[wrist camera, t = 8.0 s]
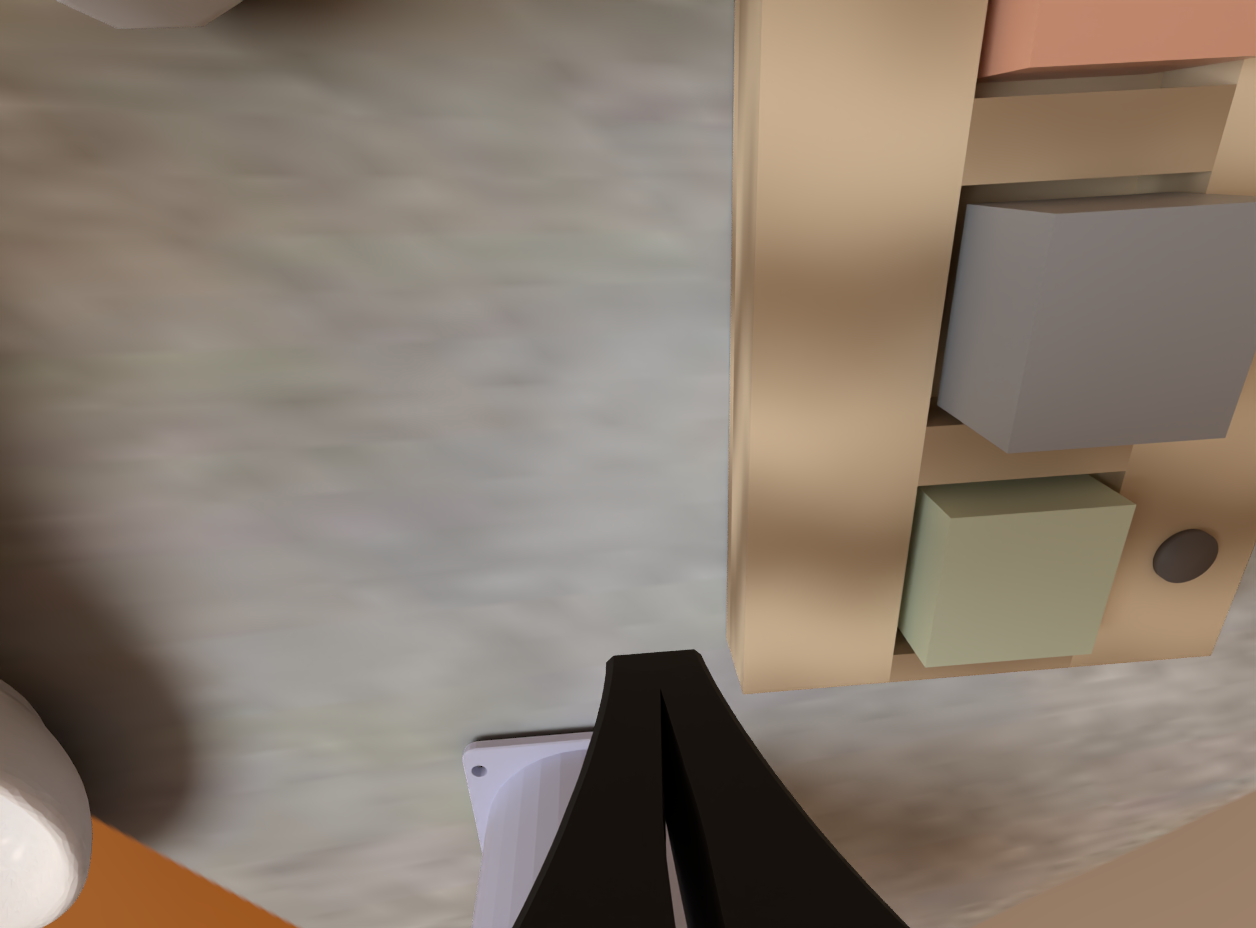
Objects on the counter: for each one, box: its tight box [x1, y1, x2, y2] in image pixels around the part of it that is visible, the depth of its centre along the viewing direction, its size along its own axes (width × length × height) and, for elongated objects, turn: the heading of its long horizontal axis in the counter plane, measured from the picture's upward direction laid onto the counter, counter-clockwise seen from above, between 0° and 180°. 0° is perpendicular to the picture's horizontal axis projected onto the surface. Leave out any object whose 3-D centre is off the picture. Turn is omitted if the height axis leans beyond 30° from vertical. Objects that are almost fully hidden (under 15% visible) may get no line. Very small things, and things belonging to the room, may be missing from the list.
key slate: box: [937, 192, 1256, 454], centre depth 14 cm, size 5×5×3 cm
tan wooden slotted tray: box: [726, 0, 1256, 694], centre depth 16 cm, size 21×14×3 cm, turn 3°
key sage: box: [897, 474, 1136, 668], centre depth 18 cm, size 5×5×3 cm
